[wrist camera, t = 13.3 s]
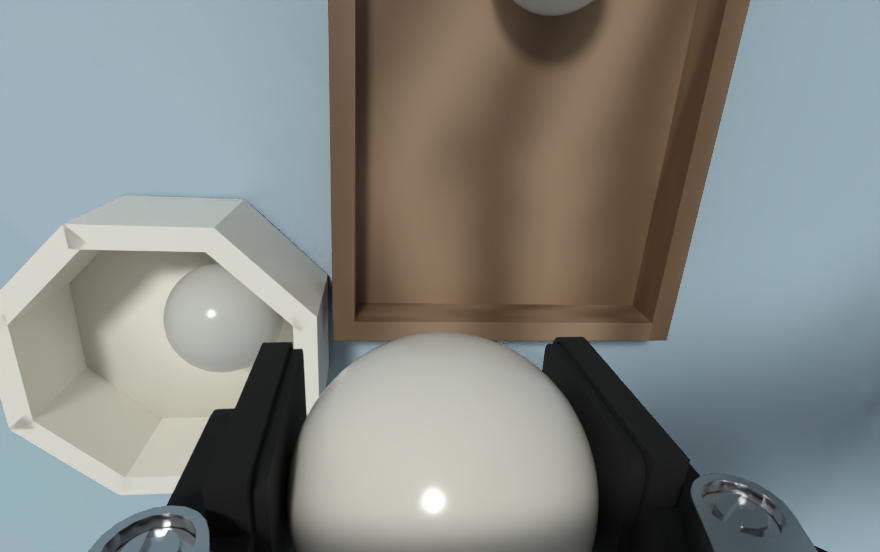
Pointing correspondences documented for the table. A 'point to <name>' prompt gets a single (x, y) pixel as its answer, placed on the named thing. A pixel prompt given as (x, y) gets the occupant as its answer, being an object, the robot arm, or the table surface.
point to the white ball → (218, 320)
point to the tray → (520, 163)
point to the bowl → (141, 333)
